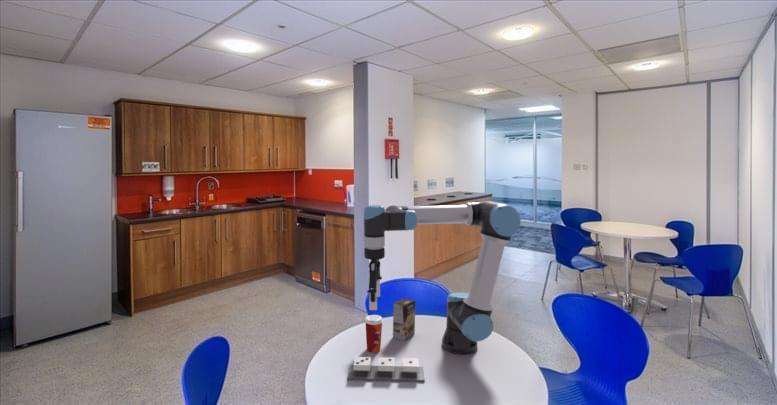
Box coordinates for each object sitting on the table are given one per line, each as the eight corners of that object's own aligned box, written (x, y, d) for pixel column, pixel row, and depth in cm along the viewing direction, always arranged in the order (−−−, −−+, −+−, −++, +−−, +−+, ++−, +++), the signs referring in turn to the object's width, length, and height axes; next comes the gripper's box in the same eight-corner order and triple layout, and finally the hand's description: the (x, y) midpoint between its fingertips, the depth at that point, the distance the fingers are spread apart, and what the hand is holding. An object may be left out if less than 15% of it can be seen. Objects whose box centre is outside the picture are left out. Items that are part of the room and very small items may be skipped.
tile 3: (371, 362, 147) (371, 356, 147) (369, 370, 141) (369, 365, 141) (355, 361, 147) (355, 356, 147) (353, 370, 141) (353, 364, 141)
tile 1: (418, 363, 146) (418, 357, 146) (419, 371, 140) (419, 366, 140) (402, 362, 147) (402, 357, 146) (402, 371, 141) (402, 365, 140)
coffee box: (404, 341, 171) (404, 306, 169) (392, 337, 175) (392, 303, 173) (415, 333, 179) (415, 300, 177) (403, 330, 182) (404, 297, 181)
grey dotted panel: (423, 368, 148) (423, 366, 148) (424, 382, 139) (424, 379, 139) (350, 367, 149) (350, 364, 149) (347, 380, 140) (347, 377, 140)
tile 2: (394, 362, 147) (394, 357, 146) (394, 371, 141) (394, 365, 140) (378, 362, 147) (378, 357, 147) (377, 370, 141) (378, 365, 141)
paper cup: (380, 355, 158) (380, 322, 157) (362, 353, 160) (362, 320, 159) (384, 346, 166) (384, 314, 165) (367, 344, 168) (367, 313, 166)
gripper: (368, 240, 155) (368, 291, 157) (360, 255, 130) (360, 315, 132) (386, 240, 154) (387, 291, 157) (382, 255, 130) (382, 316, 132)
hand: (375, 302), depth 144 cm, fingers open, 13 cm apart
